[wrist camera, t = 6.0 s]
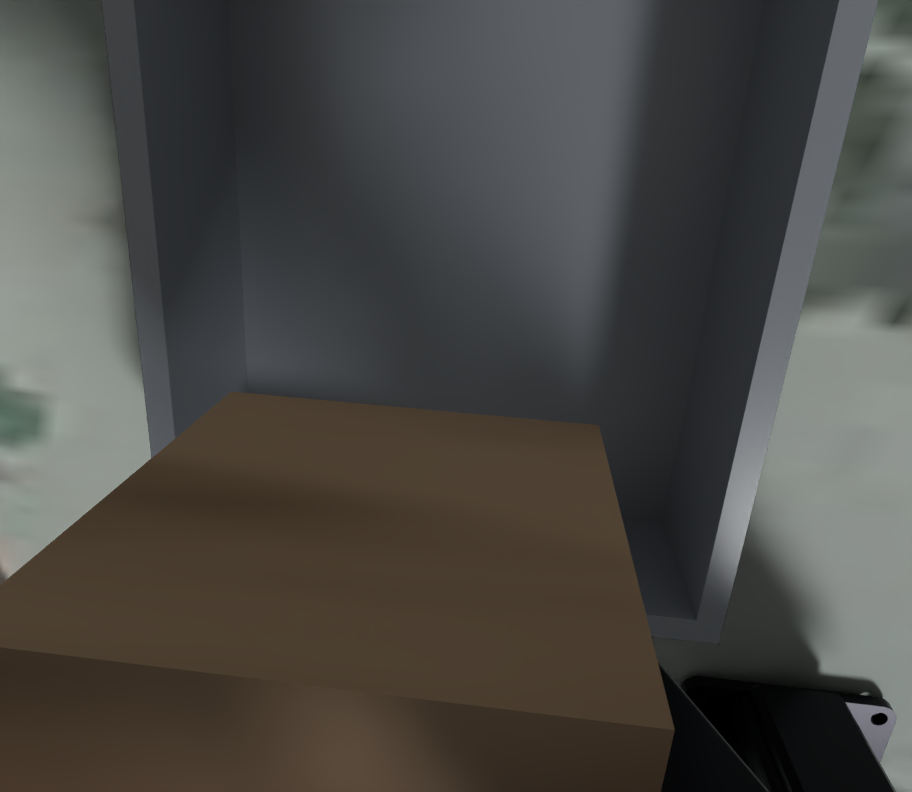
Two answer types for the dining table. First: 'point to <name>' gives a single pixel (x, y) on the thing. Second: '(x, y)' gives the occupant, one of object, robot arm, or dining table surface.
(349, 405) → the walnut block
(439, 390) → the tote
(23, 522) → the dining table surface
